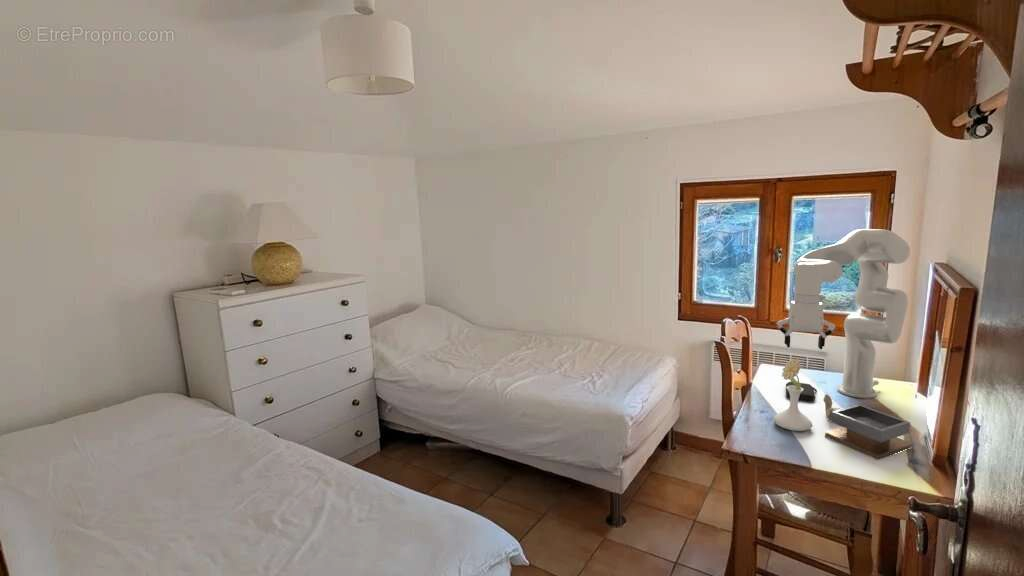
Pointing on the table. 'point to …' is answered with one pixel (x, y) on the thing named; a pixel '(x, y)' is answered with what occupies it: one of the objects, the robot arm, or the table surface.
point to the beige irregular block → (829, 406)
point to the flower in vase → (793, 401)
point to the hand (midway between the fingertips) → (803, 347)
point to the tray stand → (869, 431)
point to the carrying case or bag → (803, 392)
